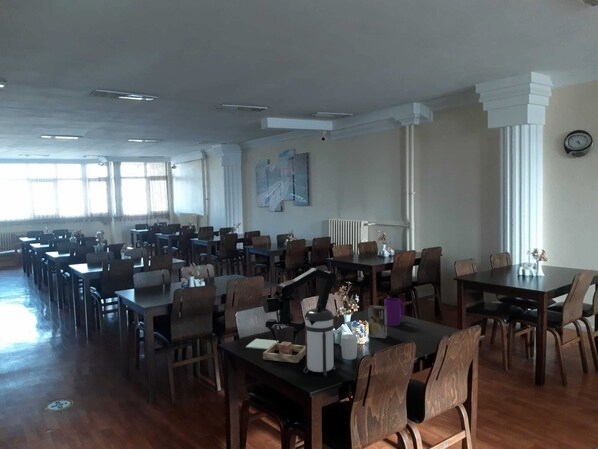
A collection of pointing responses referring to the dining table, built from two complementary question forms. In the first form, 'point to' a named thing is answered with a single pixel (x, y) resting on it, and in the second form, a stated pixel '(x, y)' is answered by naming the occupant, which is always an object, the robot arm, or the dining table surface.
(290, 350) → the terracotta block
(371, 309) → the coffee box
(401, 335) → the dining table surface
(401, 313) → the mug
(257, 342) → the sage board
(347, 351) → the white cup
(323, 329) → the coffee press
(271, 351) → the pine frame
